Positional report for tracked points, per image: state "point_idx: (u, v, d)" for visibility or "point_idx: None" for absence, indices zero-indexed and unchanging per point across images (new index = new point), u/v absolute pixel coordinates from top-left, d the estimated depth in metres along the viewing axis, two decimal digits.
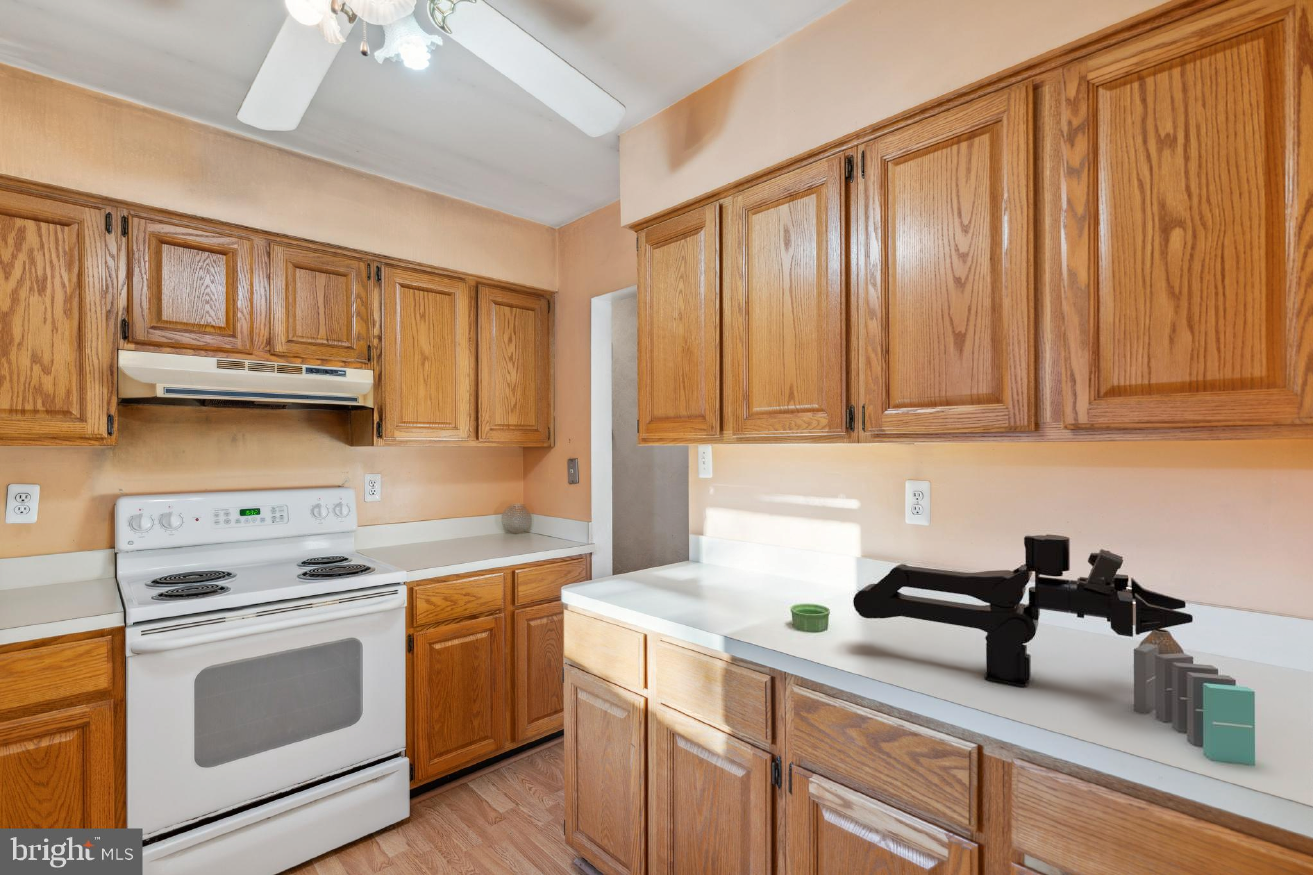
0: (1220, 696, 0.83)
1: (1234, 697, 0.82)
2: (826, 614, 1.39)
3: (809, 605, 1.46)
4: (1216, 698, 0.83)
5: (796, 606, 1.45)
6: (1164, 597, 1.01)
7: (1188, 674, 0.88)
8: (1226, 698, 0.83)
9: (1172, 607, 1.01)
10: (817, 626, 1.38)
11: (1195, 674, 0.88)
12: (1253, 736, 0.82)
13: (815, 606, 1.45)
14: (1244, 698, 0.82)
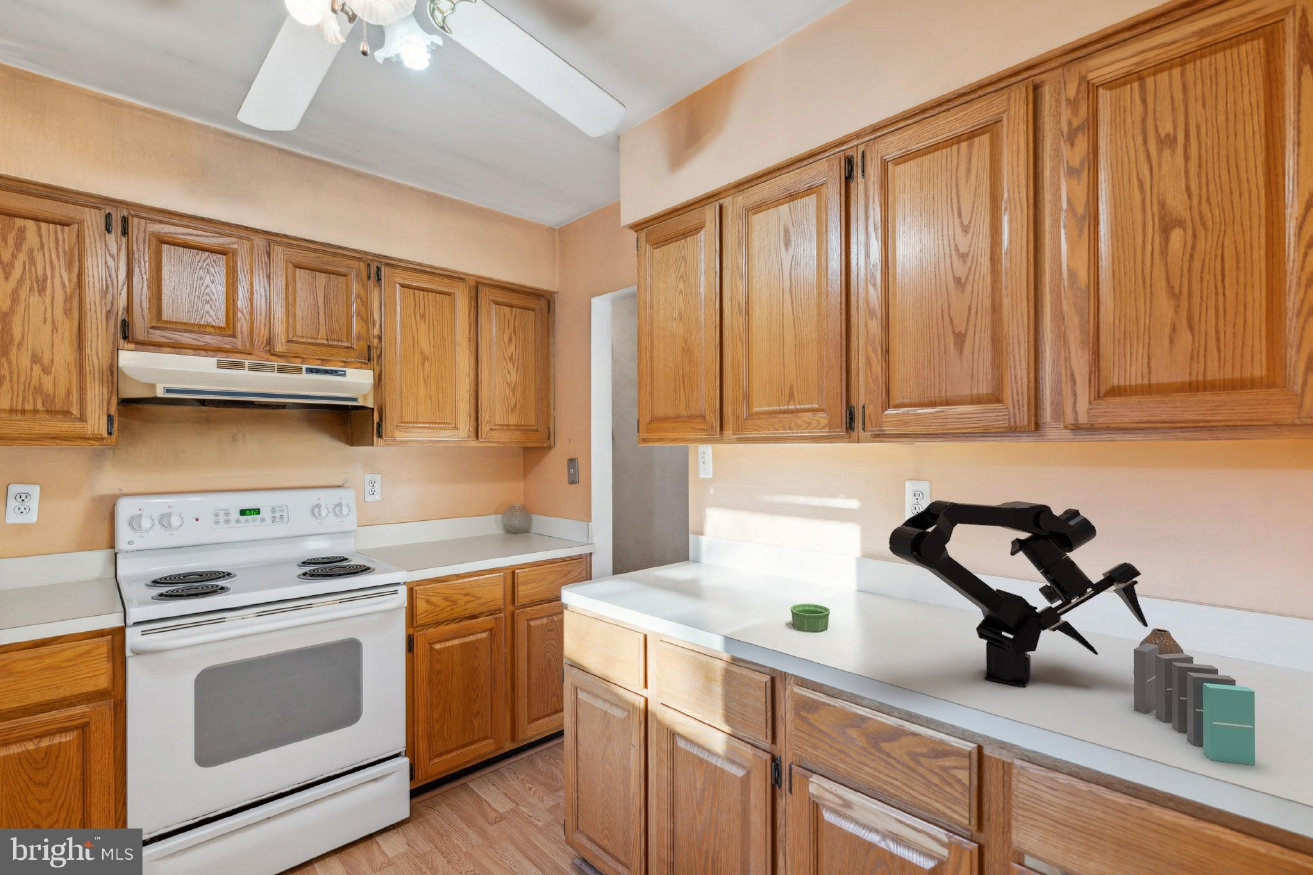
0: (1220, 696, 0.83)
1: (1234, 697, 0.82)
2: (826, 614, 1.39)
3: (809, 605, 1.46)
4: (1216, 698, 0.83)
5: (796, 606, 1.45)
6: None
7: (1188, 674, 0.88)
8: (1226, 698, 0.83)
9: None
10: (817, 626, 1.38)
11: (1195, 674, 0.88)
12: (1253, 736, 0.82)
13: (815, 606, 1.45)
14: (1243, 698, 0.82)
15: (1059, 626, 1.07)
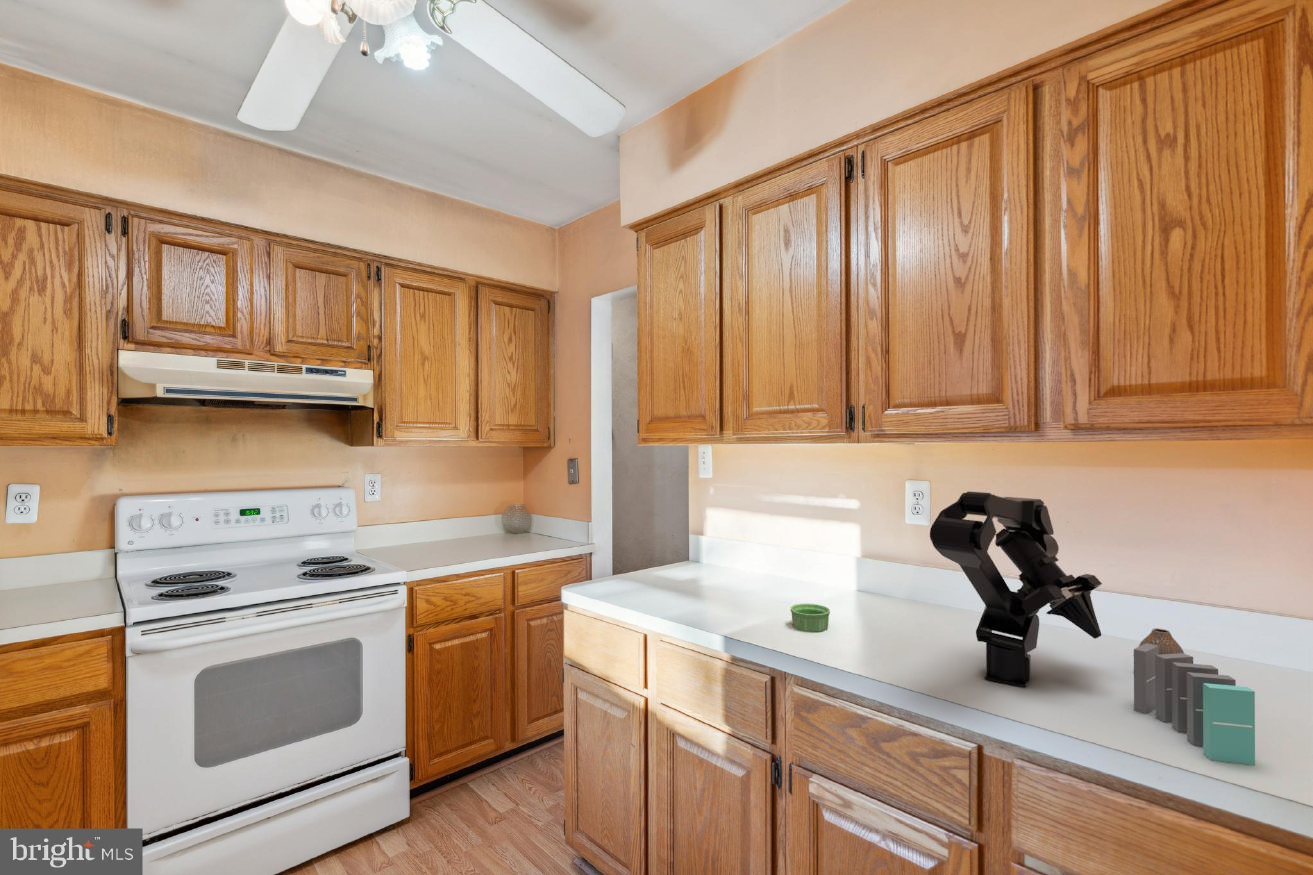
0: (1220, 696, 0.83)
1: (1234, 697, 0.82)
2: (826, 614, 1.39)
3: (809, 605, 1.46)
4: (1216, 698, 0.83)
5: (796, 606, 1.45)
6: None
7: (1188, 674, 0.88)
8: (1226, 698, 0.83)
9: None
10: (817, 626, 1.38)
11: (1195, 674, 0.88)
12: (1253, 736, 0.82)
13: (815, 606, 1.45)
14: (1244, 698, 0.82)
15: (1075, 596, 1.06)
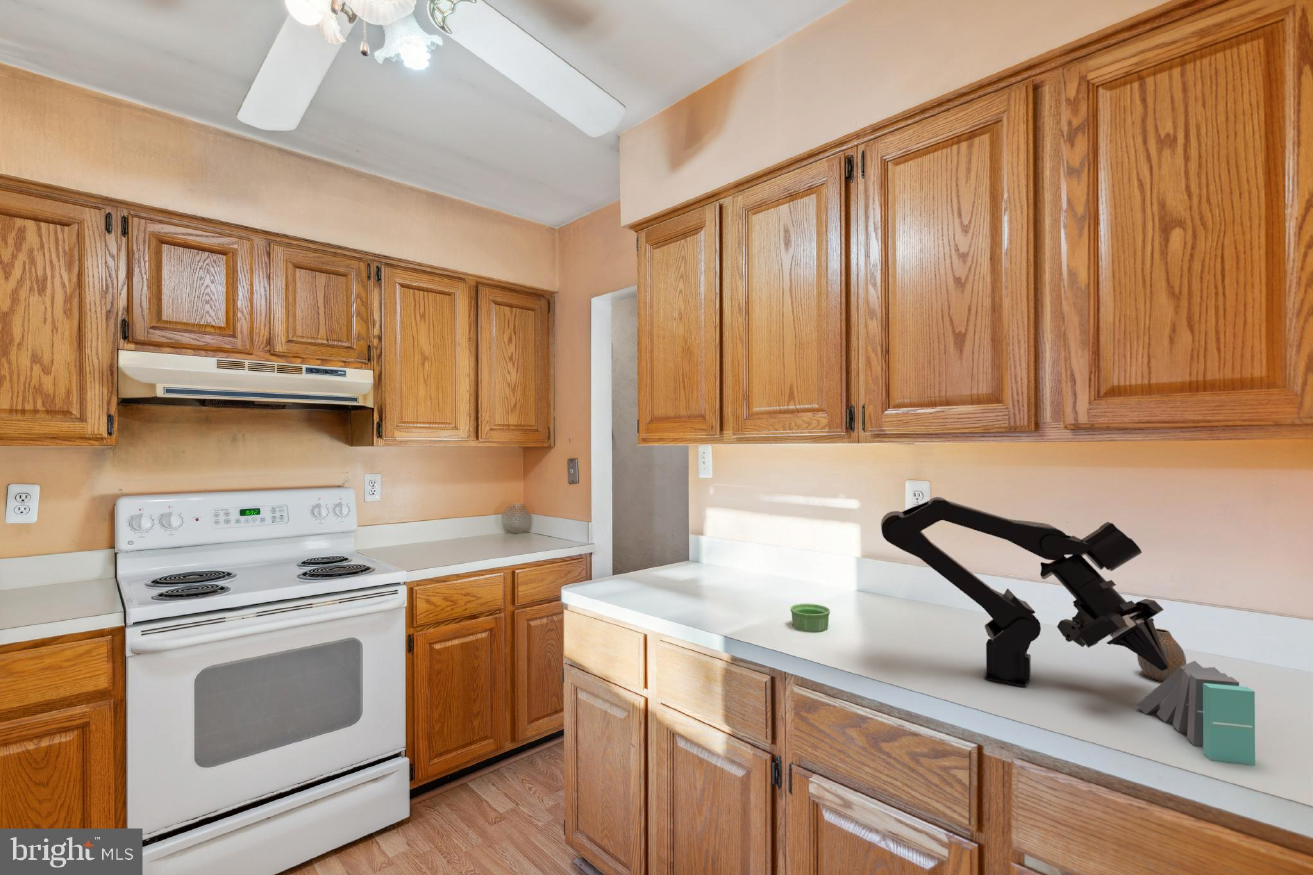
0: (1220, 696, 0.83)
1: (1234, 697, 0.82)
2: (826, 614, 1.39)
3: (809, 605, 1.46)
4: (1216, 698, 0.83)
5: (796, 606, 1.45)
6: None
7: (1191, 676, 0.87)
8: (1226, 698, 0.83)
9: None
10: (817, 626, 1.38)
11: (1198, 676, 0.87)
12: (1253, 736, 0.82)
13: (815, 606, 1.45)
14: (1244, 698, 0.82)
15: (1139, 624, 0.98)
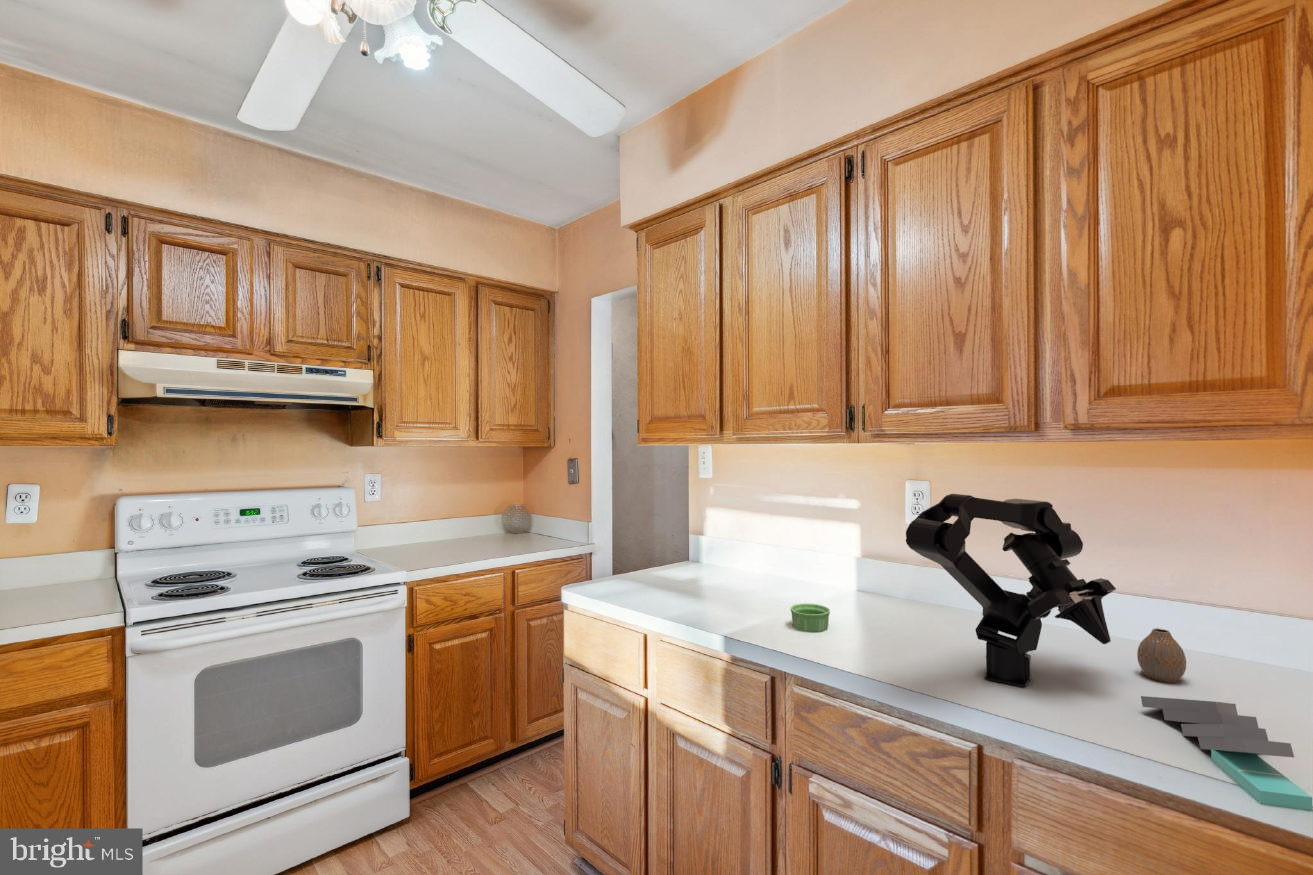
0: None
1: None
2: (826, 614, 1.39)
3: (809, 605, 1.46)
4: None
5: (796, 606, 1.45)
6: None
7: (1242, 741, 0.78)
8: None
9: None
10: (817, 626, 1.38)
11: (1251, 744, 0.77)
12: None
13: (815, 606, 1.45)
14: None
15: (1084, 600, 1.04)
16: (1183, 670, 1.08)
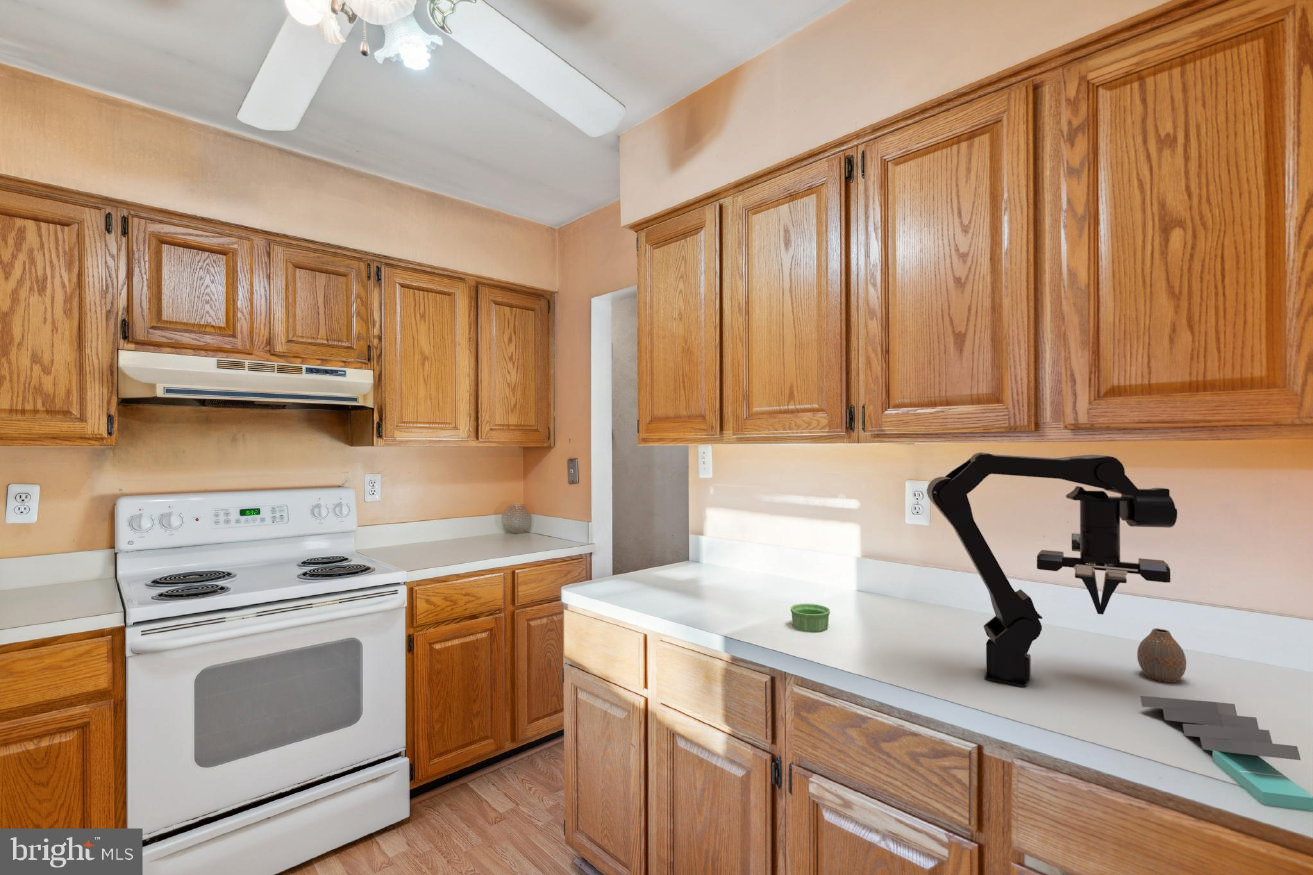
0: None
1: None
2: (826, 614, 1.39)
3: (809, 605, 1.46)
4: None
5: (796, 606, 1.45)
6: None
7: (1250, 744, 0.77)
8: None
9: (1100, 605, 1.06)
10: (817, 626, 1.38)
11: (1258, 747, 0.77)
12: None
13: (815, 606, 1.45)
14: None
15: (1083, 577, 1.06)
16: (1183, 670, 1.08)
